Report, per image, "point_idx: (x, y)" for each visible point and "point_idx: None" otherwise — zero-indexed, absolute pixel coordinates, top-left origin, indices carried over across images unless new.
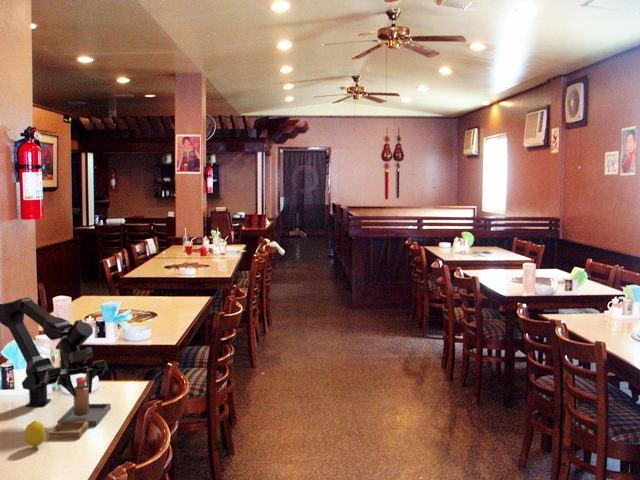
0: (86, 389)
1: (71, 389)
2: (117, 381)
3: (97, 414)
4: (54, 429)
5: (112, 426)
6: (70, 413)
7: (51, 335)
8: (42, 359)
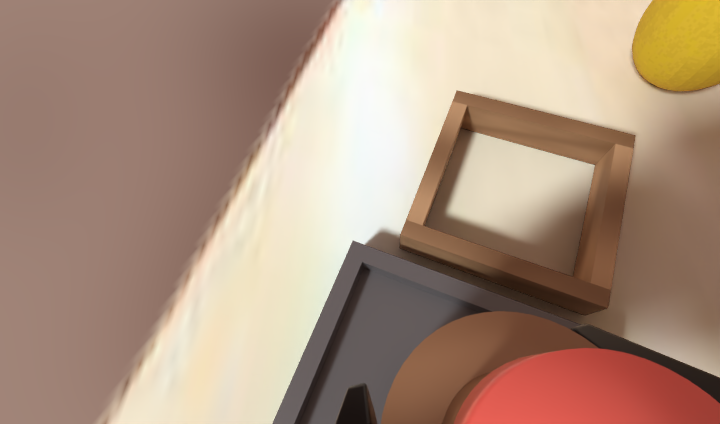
0: (421, 343)
1: (697, 371)
2: None
3: None
4: (610, 173)
5: (272, 217)
6: None
7: None
8: None
